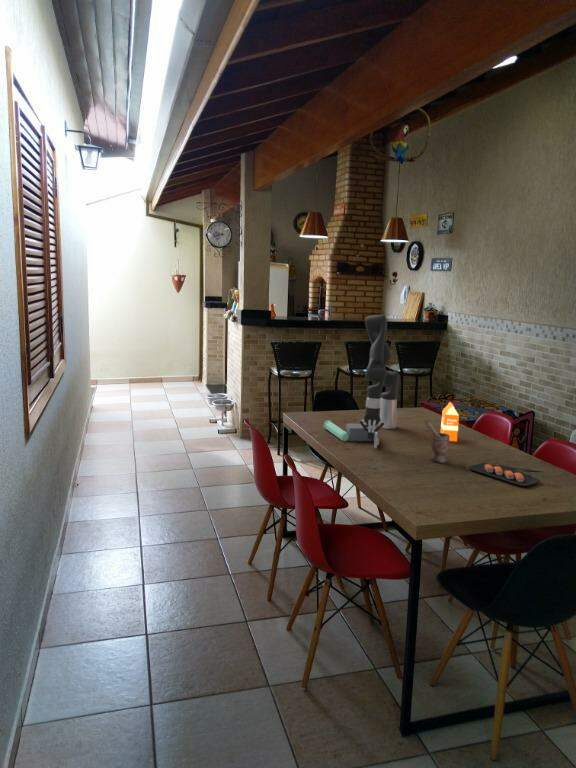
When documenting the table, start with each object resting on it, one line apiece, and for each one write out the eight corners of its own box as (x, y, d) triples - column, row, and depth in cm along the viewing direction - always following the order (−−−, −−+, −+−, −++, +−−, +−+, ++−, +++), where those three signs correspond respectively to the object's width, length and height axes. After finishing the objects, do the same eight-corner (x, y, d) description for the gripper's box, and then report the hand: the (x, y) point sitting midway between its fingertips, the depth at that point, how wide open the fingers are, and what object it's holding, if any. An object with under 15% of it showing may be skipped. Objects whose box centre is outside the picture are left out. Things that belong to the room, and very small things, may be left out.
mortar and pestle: (426, 463, 271) (429, 422, 267) (420, 457, 279) (423, 418, 276) (449, 463, 272) (453, 422, 268) (443, 458, 280) (447, 418, 277)
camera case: (370, 436, 315) (371, 422, 314) (374, 441, 305) (375, 426, 304) (345, 435, 314) (346, 421, 312) (349, 441, 304) (350, 426, 302)
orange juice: (453, 437, 320) (457, 402, 316) (456, 441, 311) (460, 405, 308) (439, 436, 321) (442, 401, 317) (442, 440, 312) (445, 404, 308)
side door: (373, 440, 305) (374, 427, 304) (377, 441, 305) (378, 428, 304) (374, 448, 291) (375, 434, 290) (378, 448, 291) (379, 435, 289)
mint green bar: (349, 430, 302) (331, 418, 325) (339, 435, 301) (322, 422, 324) (352, 440, 304) (334, 427, 327) (342, 444, 303) (325, 431, 326)
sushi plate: (465, 471, 264) (466, 463, 263) (502, 460, 282) (503, 453, 281) (524, 490, 241) (525, 481, 240) (560, 477, 259) (561, 469, 258)
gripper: (385, 405, 293) (383, 438, 296) (360, 403, 295) (357, 436, 298) (386, 408, 286) (383, 442, 289) (360, 406, 287) (357, 440, 290)
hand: (370, 439), depth 293 cm, fingers closed
